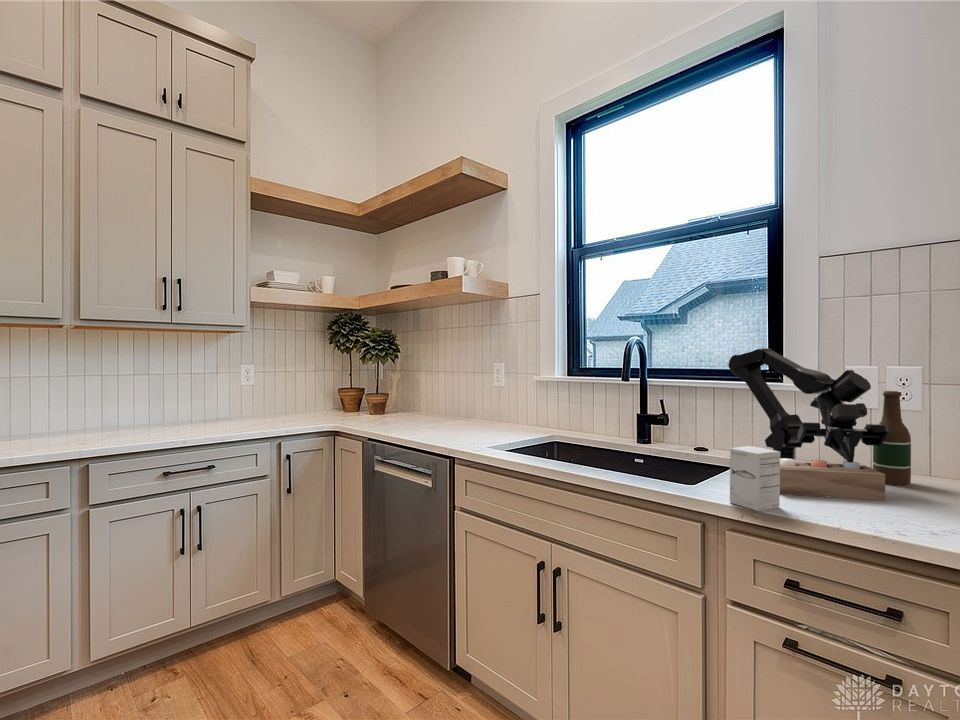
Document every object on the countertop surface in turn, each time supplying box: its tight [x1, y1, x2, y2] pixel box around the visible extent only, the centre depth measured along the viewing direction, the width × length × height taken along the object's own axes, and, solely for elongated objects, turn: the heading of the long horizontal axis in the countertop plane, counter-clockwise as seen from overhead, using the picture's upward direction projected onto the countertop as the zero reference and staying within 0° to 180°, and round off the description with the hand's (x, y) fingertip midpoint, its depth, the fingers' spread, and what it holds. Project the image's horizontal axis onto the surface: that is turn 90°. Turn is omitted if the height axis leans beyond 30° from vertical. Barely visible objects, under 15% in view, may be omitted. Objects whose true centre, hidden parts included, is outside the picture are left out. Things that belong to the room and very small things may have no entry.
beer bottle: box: [872, 390, 912, 487], centre depth 135 cm, size 8×8×24 cm
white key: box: [780, 458, 796, 466], centre depth 130 cm, size 3×3×4 cm
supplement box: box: [729, 445, 781, 512], centre depth 115 cm, size 7×7×13 cm
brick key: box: [810, 459, 828, 467], centre depth 128 cm, size 3×3×4 cm
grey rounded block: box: [842, 460, 861, 469], centre depth 126 cm, size 3×3×4 cm
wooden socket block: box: [780, 461, 886, 501], centre depth 126 cm, size 10×22×6 cm, turn 75°
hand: (851, 461), depth 126 cm, fingers closed, pressing on grey rounded block
